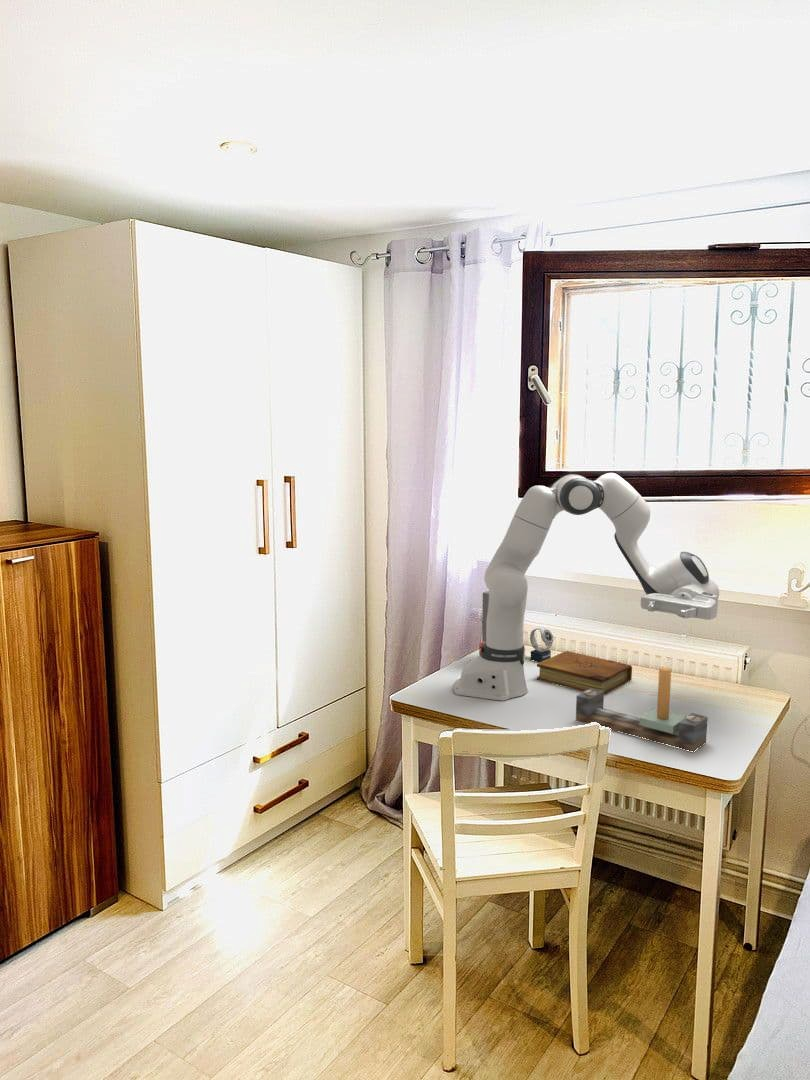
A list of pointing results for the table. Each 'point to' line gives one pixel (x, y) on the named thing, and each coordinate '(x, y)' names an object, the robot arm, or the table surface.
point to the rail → (592, 711)
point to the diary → (584, 672)
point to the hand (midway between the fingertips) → (666, 611)
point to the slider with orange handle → (662, 707)
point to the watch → (541, 653)
